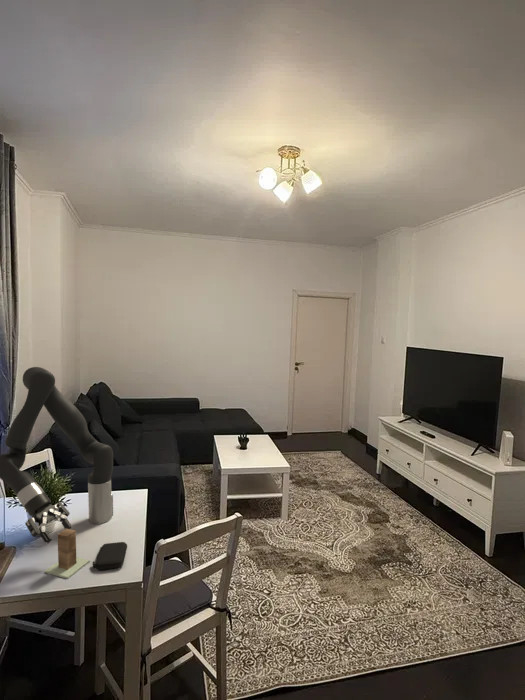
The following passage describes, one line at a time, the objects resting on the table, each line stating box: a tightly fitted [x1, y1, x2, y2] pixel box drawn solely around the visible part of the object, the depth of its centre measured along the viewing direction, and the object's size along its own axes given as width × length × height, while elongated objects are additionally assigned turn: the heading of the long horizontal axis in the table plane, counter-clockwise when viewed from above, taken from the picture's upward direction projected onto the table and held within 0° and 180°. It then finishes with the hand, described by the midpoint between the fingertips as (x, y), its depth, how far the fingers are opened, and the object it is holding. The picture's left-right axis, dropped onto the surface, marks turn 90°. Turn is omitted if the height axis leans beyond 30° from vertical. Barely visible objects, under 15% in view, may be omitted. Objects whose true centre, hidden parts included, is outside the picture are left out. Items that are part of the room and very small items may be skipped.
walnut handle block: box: [57, 528, 77, 570], centre depth 139 cm, size 4×4×12 cm
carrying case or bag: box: [92, 541, 128, 572], centre depth 145 cm, size 11×3×15 cm
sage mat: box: [44, 556, 91, 580], centre depth 140 cm, size 10×10×1 cm
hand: (60, 535), depth 140 cm, fingers open, 8 cm apart
